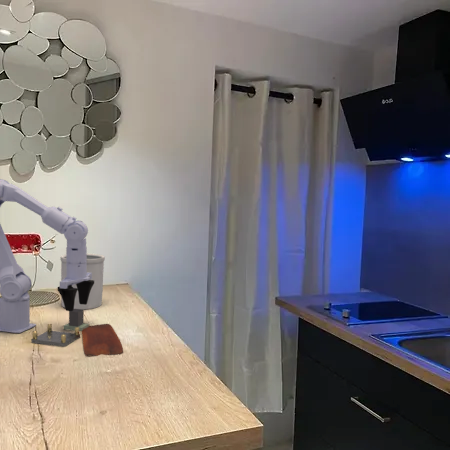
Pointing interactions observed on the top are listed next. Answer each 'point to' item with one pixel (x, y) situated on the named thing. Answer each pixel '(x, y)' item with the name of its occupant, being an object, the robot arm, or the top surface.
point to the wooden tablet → (101, 341)
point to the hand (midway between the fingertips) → (76, 307)
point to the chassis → (55, 337)
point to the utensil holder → (96, 268)
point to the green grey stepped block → (76, 320)
